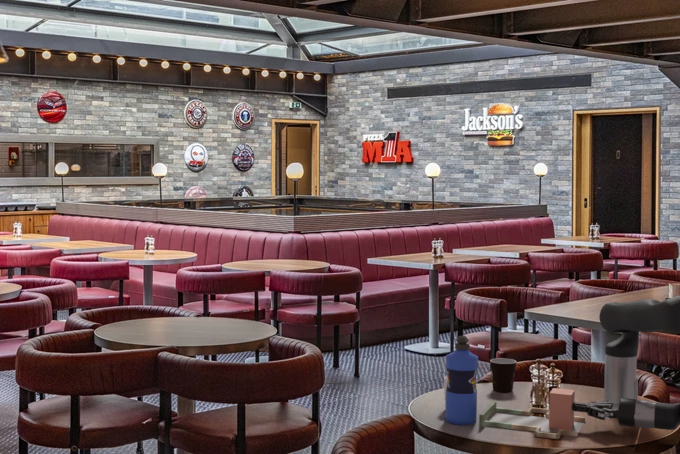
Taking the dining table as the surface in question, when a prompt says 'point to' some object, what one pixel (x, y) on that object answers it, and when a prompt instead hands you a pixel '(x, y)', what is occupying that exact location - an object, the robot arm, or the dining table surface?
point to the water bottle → (461, 384)
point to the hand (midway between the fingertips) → (572, 406)
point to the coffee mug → (503, 374)
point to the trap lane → (525, 421)
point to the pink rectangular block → (561, 409)
